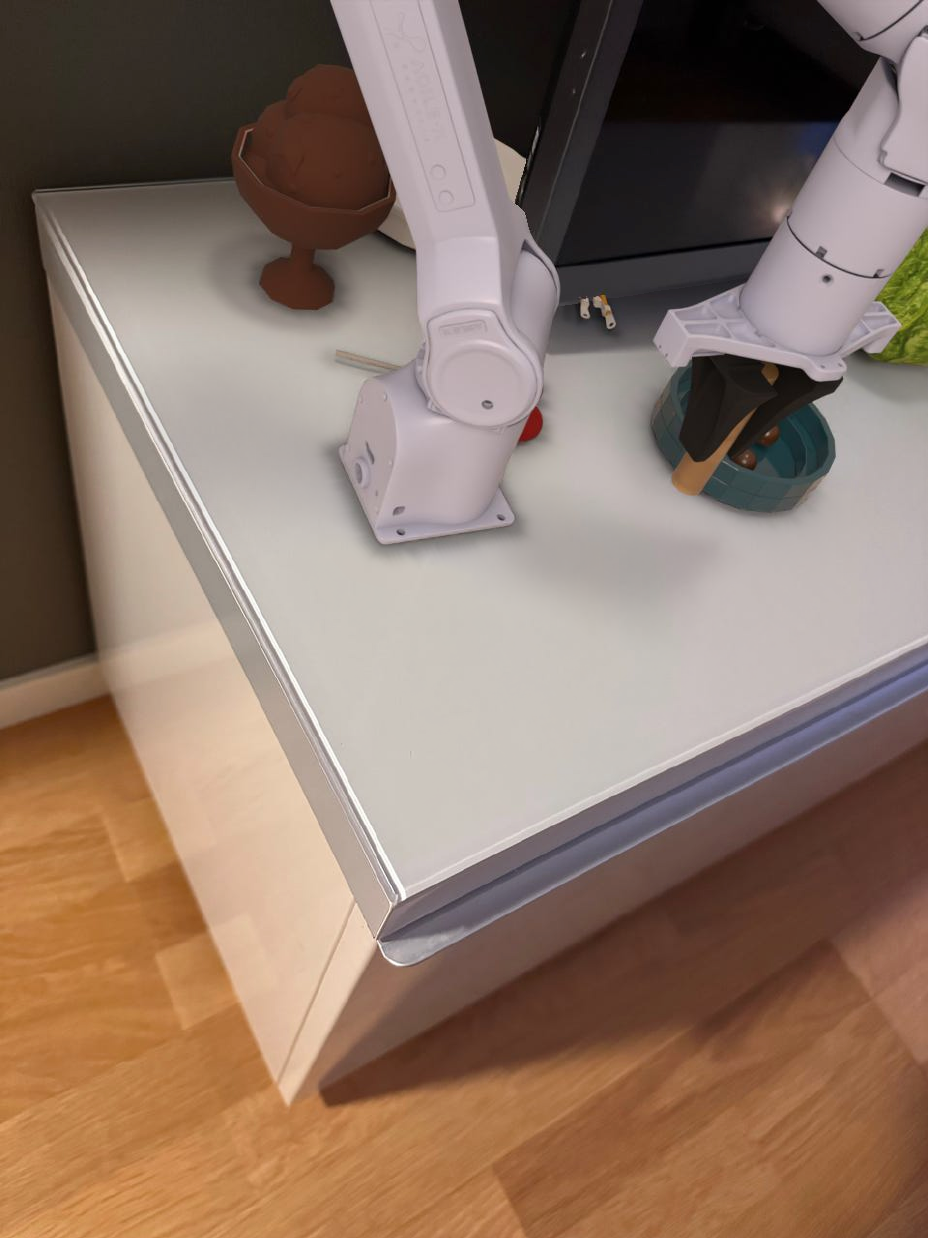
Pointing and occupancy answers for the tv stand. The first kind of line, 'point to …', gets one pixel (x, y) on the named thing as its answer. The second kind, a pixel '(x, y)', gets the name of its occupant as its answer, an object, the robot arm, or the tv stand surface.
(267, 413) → the tv stand surface
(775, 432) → the hazelnut
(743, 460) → the hazelnut
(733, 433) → the stirring stick
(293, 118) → the ice cream bowl
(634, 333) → the tv stand surface
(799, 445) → the bowl
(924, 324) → the lettuce
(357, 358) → the lollipop
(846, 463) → the tv stand surface
